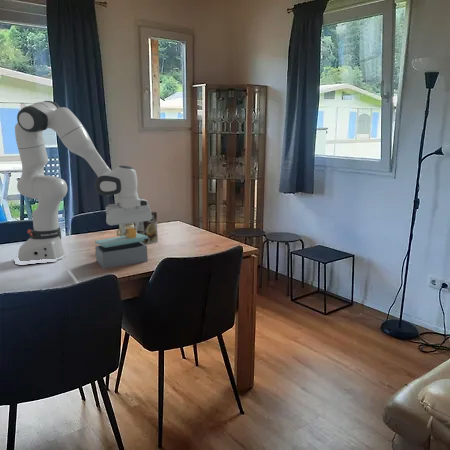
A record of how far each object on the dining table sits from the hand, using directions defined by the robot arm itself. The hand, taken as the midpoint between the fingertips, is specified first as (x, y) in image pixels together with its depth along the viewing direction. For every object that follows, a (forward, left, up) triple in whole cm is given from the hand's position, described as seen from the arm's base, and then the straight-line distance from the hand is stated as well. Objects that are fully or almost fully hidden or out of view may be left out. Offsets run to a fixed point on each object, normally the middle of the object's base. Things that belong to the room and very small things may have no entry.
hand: (130, 232), depth 200 cm
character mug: (+4, +19, -14) cm, 24 cm away
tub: (-5, 0, -14) cm, 14 cm away
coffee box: (+17, +26, -14) cm, 34 cm away
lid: (-4, -1, -4) cm, 6 cm away
